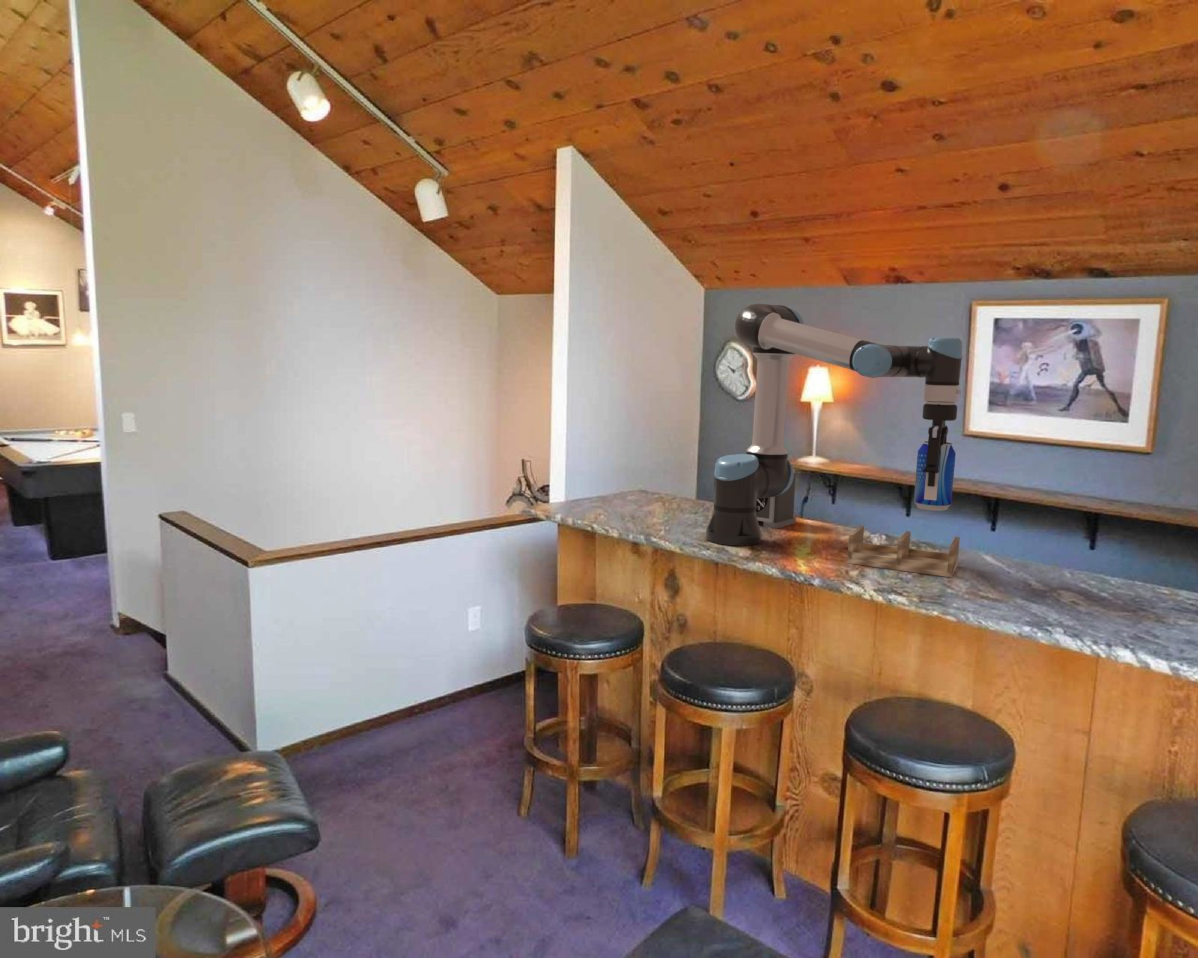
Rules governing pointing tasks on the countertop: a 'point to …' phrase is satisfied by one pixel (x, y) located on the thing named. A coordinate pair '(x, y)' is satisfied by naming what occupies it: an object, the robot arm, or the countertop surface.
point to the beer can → (943, 480)
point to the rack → (902, 555)
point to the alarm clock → (777, 508)
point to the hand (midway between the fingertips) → (932, 496)
